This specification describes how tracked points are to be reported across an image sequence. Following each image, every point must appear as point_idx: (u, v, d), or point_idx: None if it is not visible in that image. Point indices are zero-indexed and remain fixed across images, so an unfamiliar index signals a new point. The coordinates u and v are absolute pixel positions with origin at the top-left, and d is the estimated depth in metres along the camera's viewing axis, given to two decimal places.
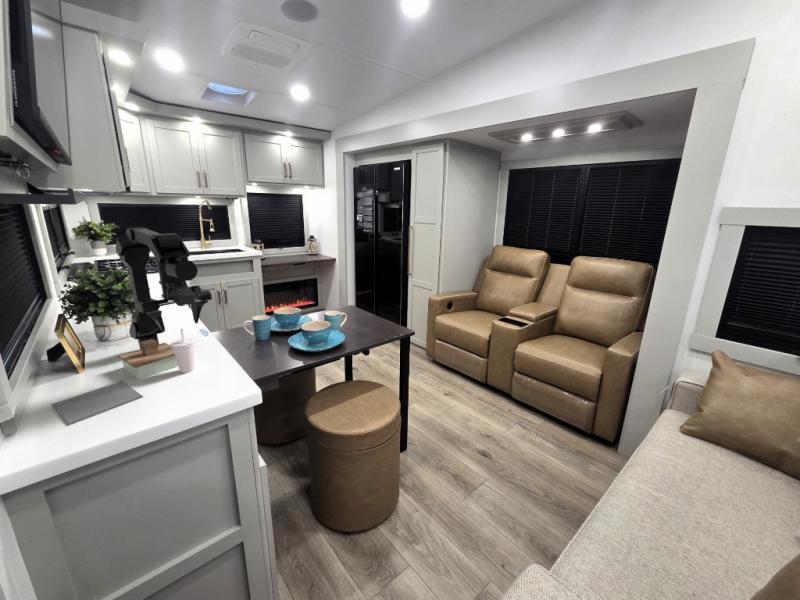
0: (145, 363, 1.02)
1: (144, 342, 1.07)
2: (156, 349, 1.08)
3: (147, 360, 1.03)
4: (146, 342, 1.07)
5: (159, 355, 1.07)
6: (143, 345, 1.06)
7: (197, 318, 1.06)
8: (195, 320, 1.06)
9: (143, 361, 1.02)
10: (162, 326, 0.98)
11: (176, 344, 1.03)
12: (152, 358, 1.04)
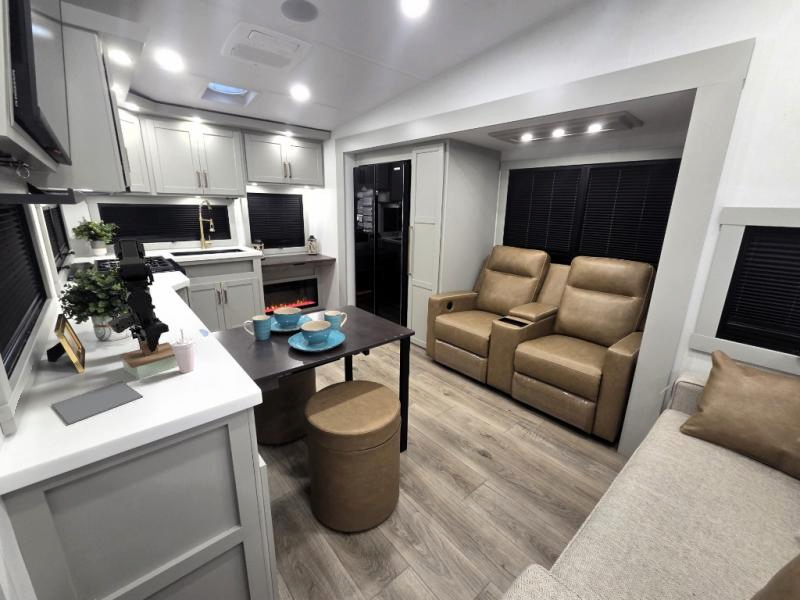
0: (142, 363, 1.02)
1: (144, 342, 1.07)
2: (155, 349, 1.08)
3: (145, 360, 1.03)
4: (146, 342, 1.07)
5: (158, 355, 1.06)
6: (142, 345, 1.06)
7: None
8: None
9: (141, 361, 1.02)
10: None
11: (176, 344, 1.03)
12: (150, 358, 1.04)
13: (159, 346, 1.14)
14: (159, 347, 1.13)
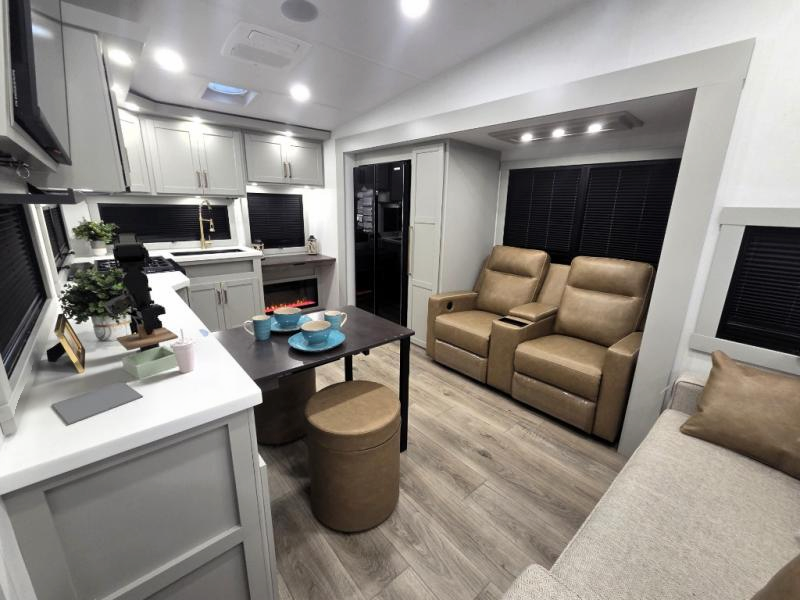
0: (138, 346, 1.00)
1: (141, 325, 1.05)
2: (152, 333, 1.06)
3: (141, 343, 1.01)
4: (142, 325, 1.05)
5: (154, 339, 1.05)
6: (139, 328, 1.04)
7: (145, 330, 1.04)
8: None
9: (137, 344, 1.01)
10: None
11: (176, 344, 1.03)
12: (146, 341, 1.03)
13: (156, 330, 1.12)
14: (156, 331, 1.11)
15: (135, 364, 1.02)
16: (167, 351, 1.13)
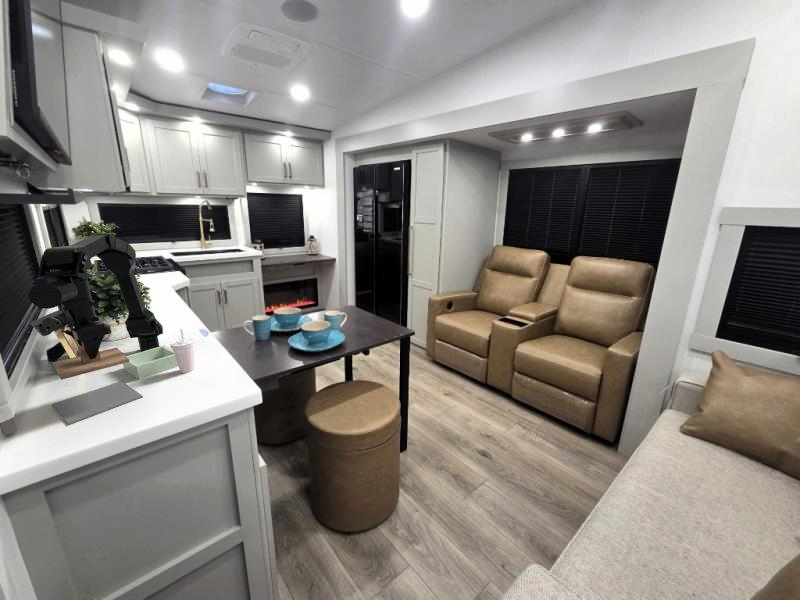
0: (76, 374, 0.81)
1: (82, 347, 0.86)
2: (97, 356, 0.87)
3: (80, 370, 0.82)
4: None
5: (98, 364, 0.86)
6: (79, 351, 0.85)
7: (87, 353, 0.85)
8: None
9: (74, 371, 0.82)
10: None
11: (176, 344, 1.03)
12: (87, 367, 0.83)
13: (105, 352, 0.93)
14: (105, 353, 0.92)
15: (135, 364, 1.02)
16: (167, 351, 1.13)
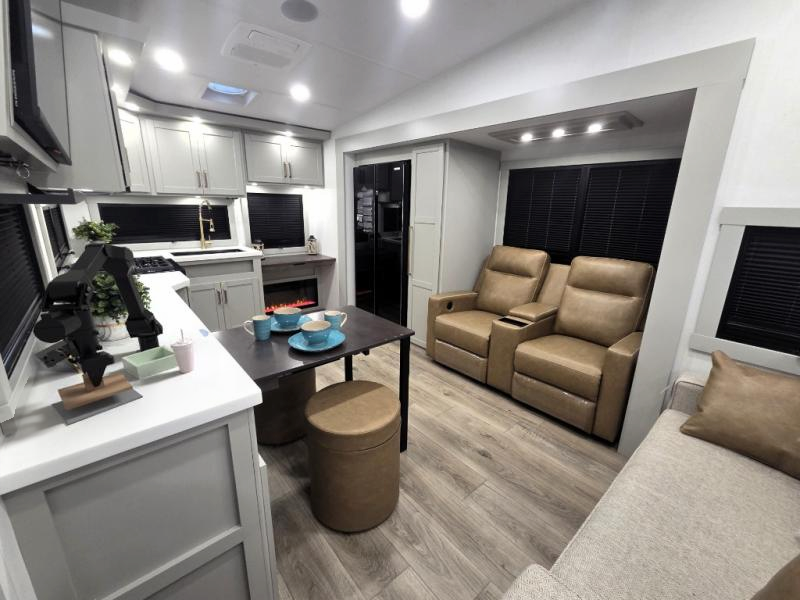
0: (80, 404, 0.82)
1: (86, 375, 0.87)
2: (101, 383, 0.89)
3: (84, 399, 0.84)
4: None
5: (102, 392, 0.87)
6: (84, 379, 0.86)
7: (91, 382, 0.87)
8: None
9: (79, 401, 0.83)
10: None
11: (176, 344, 1.03)
12: (92, 396, 0.85)
13: (109, 377, 0.94)
14: (108, 379, 0.94)
15: (135, 364, 1.02)
16: (167, 351, 1.13)
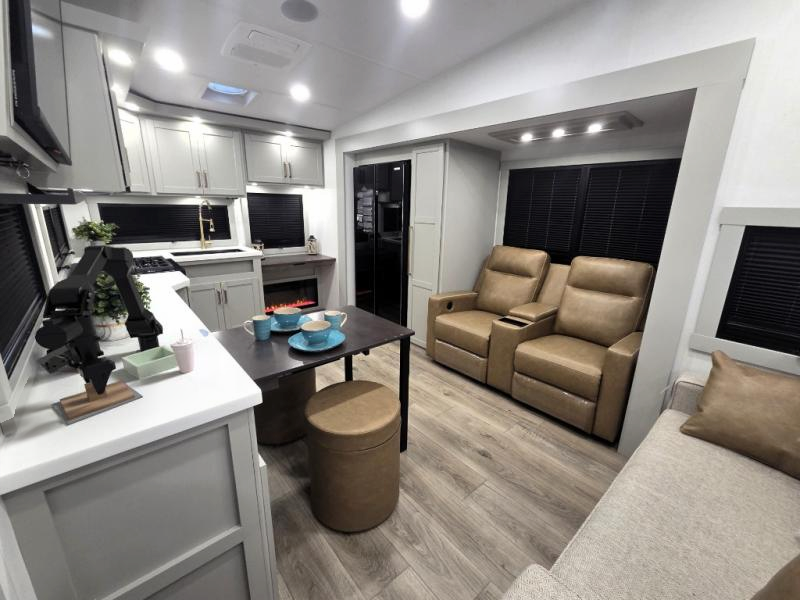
0: (84, 413, 0.83)
1: (89, 385, 0.88)
2: (103, 393, 0.89)
3: (87, 409, 0.84)
4: (90, 385, 0.88)
5: (105, 401, 0.88)
6: (86, 389, 0.87)
7: (95, 389, 0.86)
8: None
9: (82, 410, 0.84)
10: (84, 380, 0.90)
11: (176, 344, 1.03)
12: (95, 406, 0.86)
13: (110, 386, 0.95)
14: (110, 388, 0.94)
15: (135, 364, 1.02)
16: (167, 351, 1.13)
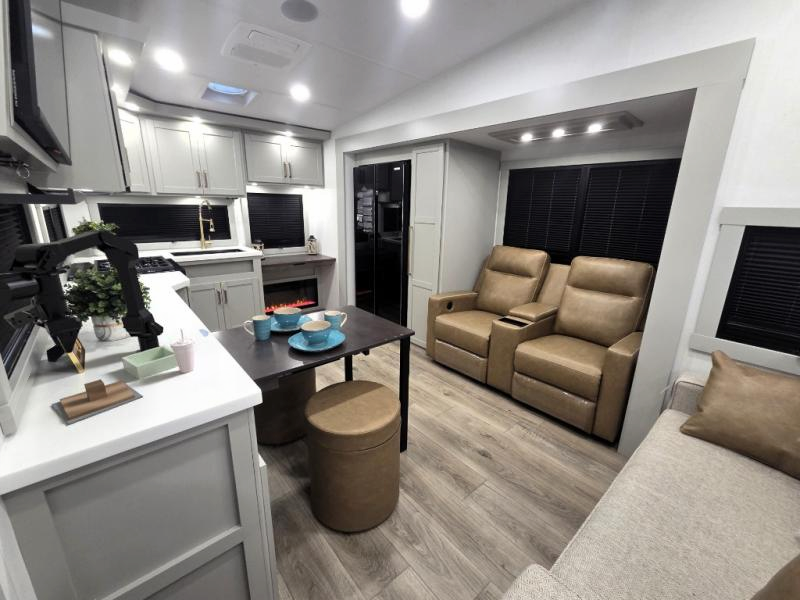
0: (84, 413, 0.83)
1: (89, 385, 0.88)
2: (103, 393, 0.89)
3: (87, 409, 0.84)
4: (90, 385, 0.88)
5: (105, 401, 0.88)
6: (86, 389, 0.87)
7: (63, 348, 0.88)
8: None
9: (82, 410, 0.84)
10: (52, 339, 0.93)
11: (176, 344, 1.03)
12: (95, 406, 0.86)
13: (110, 386, 0.95)
14: (110, 388, 0.94)
15: (135, 364, 1.02)
16: (167, 351, 1.13)
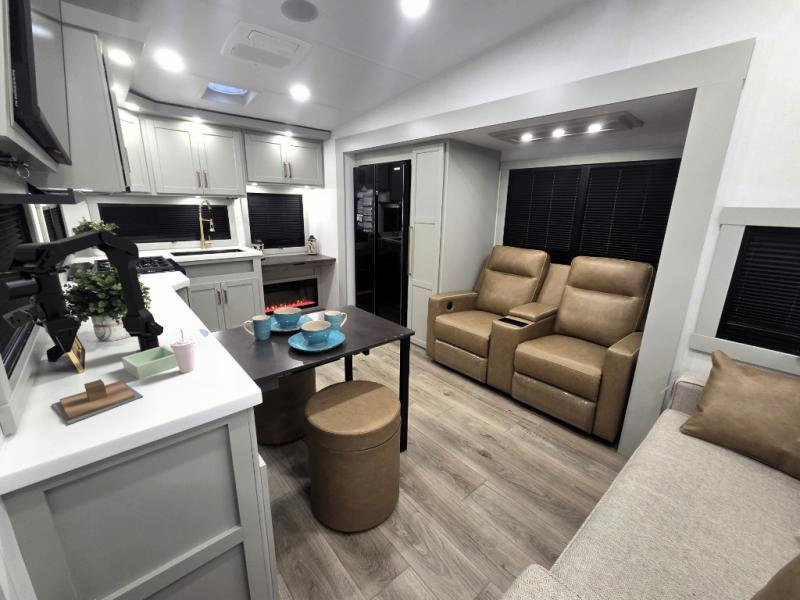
0: (84, 413, 0.83)
1: (89, 385, 0.88)
2: (103, 393, 0.89)
3: (87, 409, 0.84)
4: (90, 385, 0.88)
5: (105, 401, 0.88)
6: (86, 389, 0.87)
7: (62, 347, 0.88)
8: None
9: (82, 410, 0.84)
10: None
11: (176, 344, 1.03)
12: (95, 406, 0.86)
13: (110, 386, 0.95)
14: (110, 388, 0.94)
15: (135, 364, 1.02)
16: (167, 351, 1.13)
